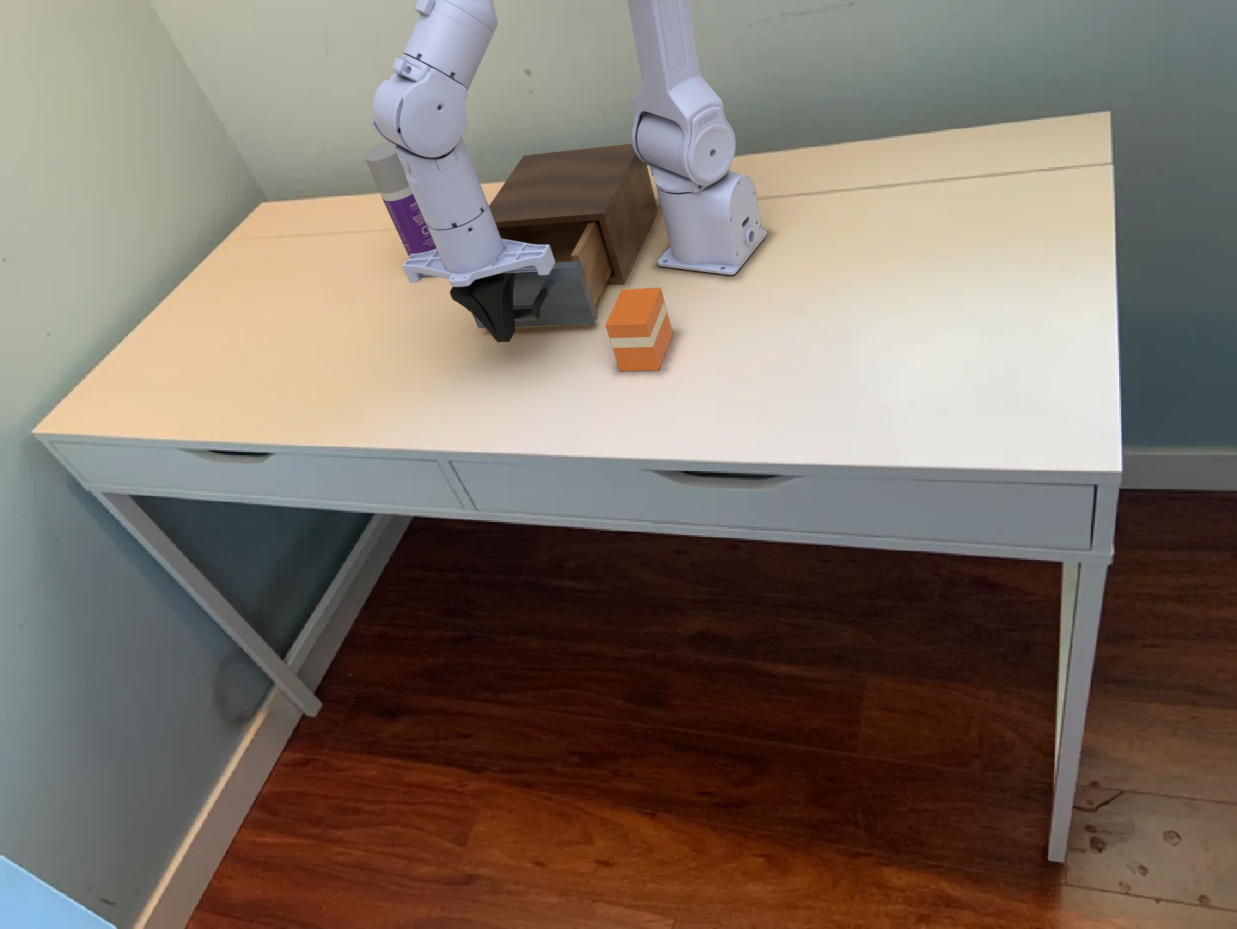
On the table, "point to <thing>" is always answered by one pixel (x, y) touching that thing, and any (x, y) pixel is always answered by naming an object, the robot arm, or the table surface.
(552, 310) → the drawer
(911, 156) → the table surface
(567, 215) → the cabinet
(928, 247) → the table surface
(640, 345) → the snack box
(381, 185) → the container
